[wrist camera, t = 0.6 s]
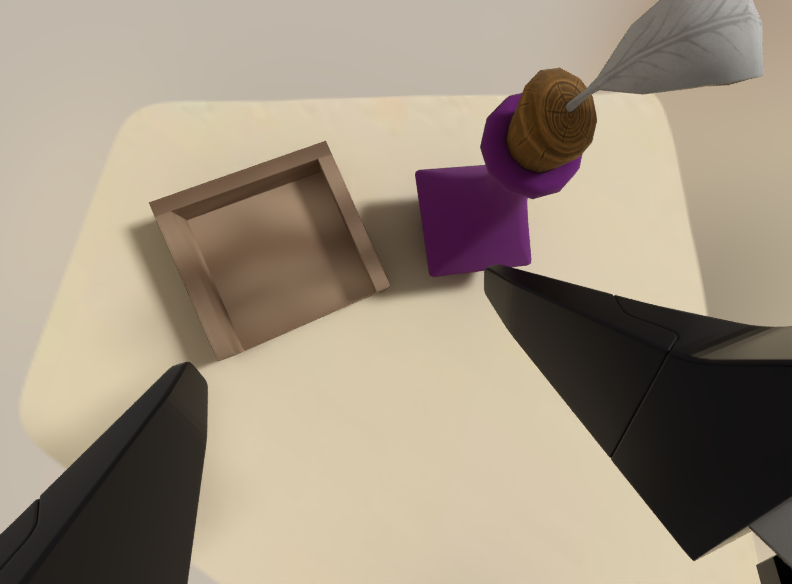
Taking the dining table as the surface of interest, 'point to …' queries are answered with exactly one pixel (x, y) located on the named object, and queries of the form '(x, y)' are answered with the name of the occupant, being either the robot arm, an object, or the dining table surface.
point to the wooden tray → (269, 248)
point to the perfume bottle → (573, 128)
